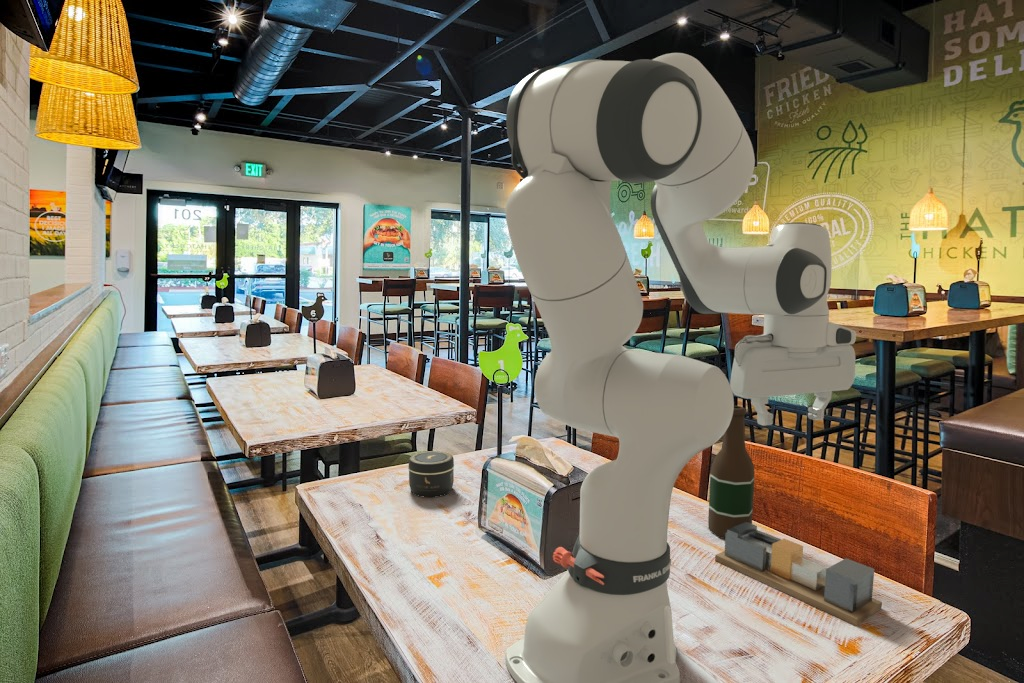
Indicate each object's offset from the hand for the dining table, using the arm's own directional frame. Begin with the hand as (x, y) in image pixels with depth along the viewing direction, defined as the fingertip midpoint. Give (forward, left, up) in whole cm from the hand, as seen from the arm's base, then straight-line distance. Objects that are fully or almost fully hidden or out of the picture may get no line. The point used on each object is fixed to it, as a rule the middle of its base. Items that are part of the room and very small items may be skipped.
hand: (790, 421), depth 93 cm
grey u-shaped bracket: (+1, +5, -26) cm, 26 cm away
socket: (+1, -10, -26) cm, 28 cm away
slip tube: (+1, +1, -24) cm, 25 cm away
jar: (-27, +66, -26) cm, 76 cm away
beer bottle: (+9, +15, -26) cm, 31 cm away
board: (+1, -2, -26) cm, 26 cm away
